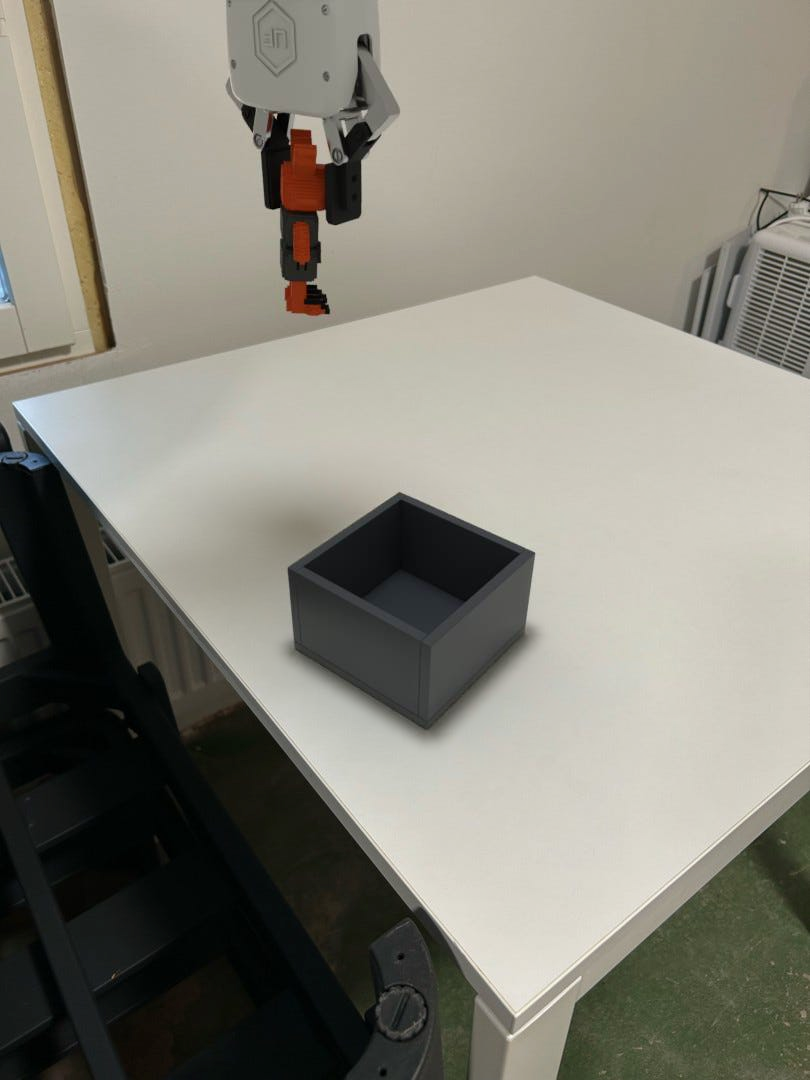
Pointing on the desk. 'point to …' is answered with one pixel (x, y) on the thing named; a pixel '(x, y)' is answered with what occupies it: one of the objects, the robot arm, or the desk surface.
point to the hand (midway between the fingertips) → (312, 210)
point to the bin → (410, 604)
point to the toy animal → (302, 225)
